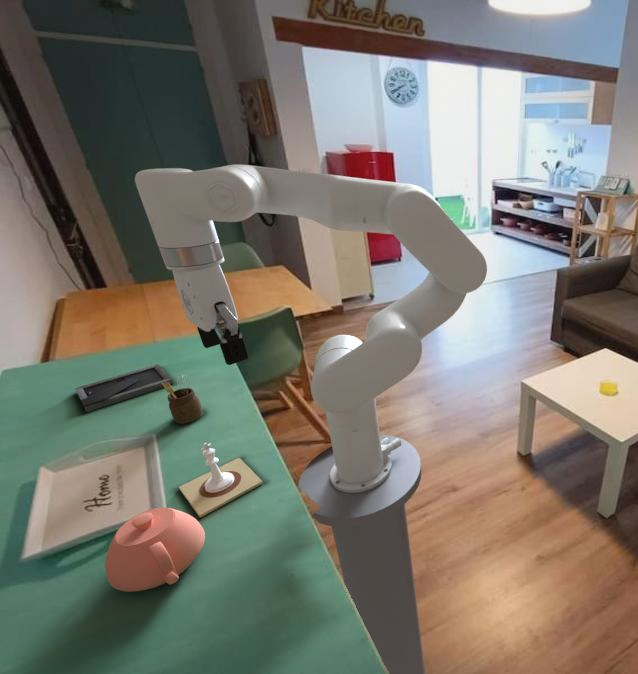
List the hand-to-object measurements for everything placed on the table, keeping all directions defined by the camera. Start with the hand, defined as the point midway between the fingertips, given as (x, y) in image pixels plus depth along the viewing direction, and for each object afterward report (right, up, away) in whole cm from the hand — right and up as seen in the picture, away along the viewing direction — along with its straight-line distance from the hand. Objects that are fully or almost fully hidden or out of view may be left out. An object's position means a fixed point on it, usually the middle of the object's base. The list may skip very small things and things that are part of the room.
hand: (225, 353), depth 72 cm
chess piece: (-9, -27, +11) cm, 30 cm away
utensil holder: (-31, -17, +32) cm, 47 cm away
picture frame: (-56, -12, +43) cm, 72 cm away
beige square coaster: (-9, -27, +12) cm, 31 cm away
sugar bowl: (-7, -35, -4) cm, 36 cm away
